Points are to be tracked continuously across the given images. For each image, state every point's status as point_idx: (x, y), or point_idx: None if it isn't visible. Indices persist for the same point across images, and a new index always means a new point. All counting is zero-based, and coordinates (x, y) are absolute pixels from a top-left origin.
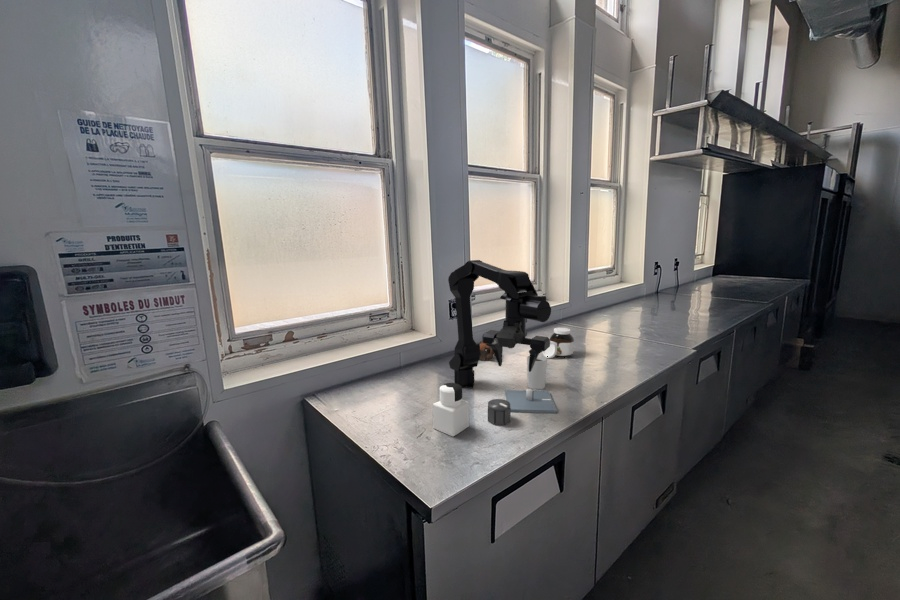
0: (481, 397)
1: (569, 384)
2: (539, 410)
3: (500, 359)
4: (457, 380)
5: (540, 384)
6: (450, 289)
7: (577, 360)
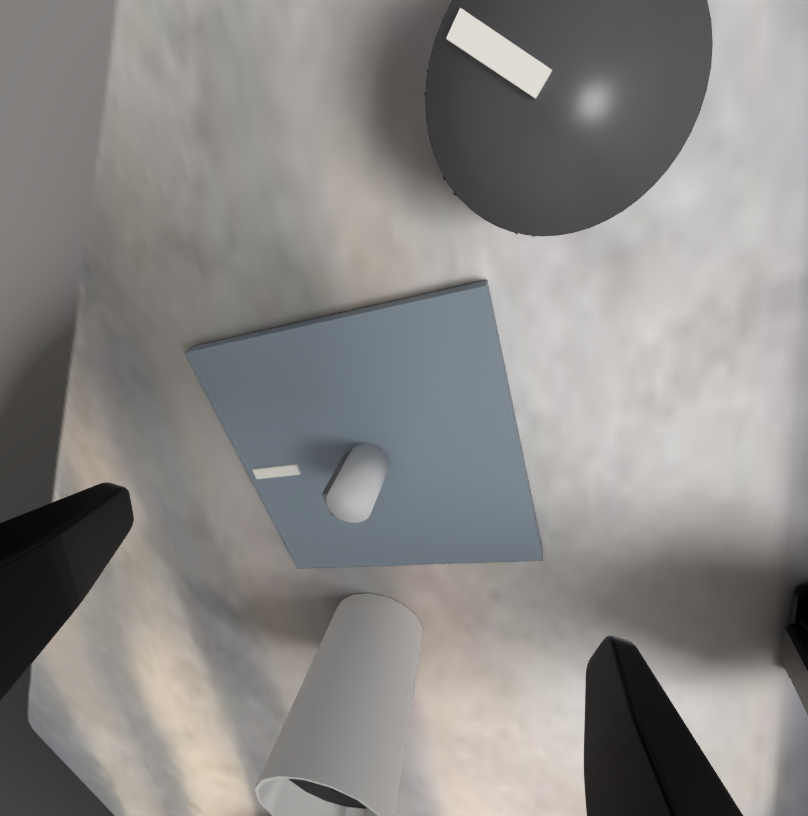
0: (720, 462)
1: (240, 639)
2: (278, 331)
3: (625, 785)
4: None
5: (341, 617)
6: None
7: None
